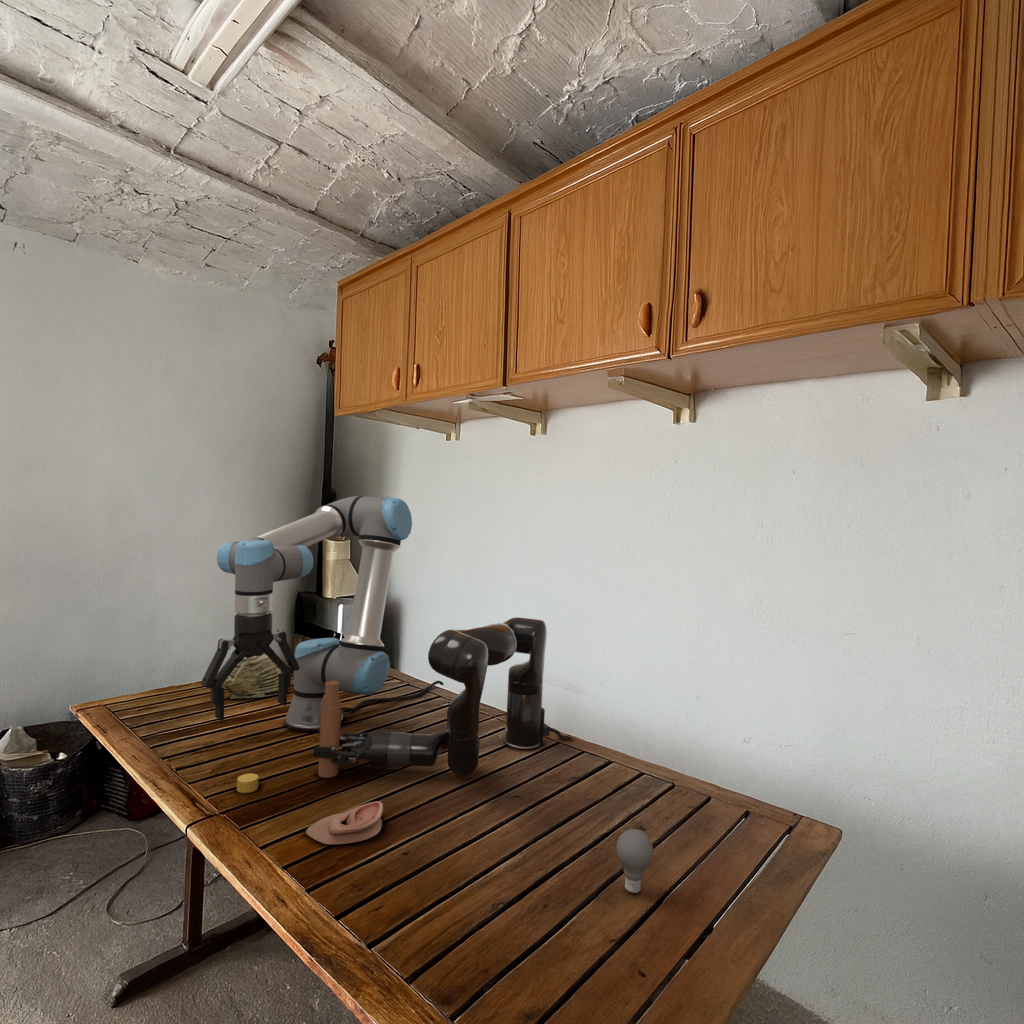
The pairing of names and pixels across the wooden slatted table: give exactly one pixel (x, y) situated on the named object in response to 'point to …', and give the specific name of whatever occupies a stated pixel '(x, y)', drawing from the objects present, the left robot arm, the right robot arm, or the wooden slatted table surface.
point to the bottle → (329, 727)
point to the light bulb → (634, 857)
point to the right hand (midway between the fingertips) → (317, 747)
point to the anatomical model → (348, 825)
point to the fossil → (253, 678)
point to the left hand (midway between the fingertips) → (252, 710)
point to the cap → (247, 783)
